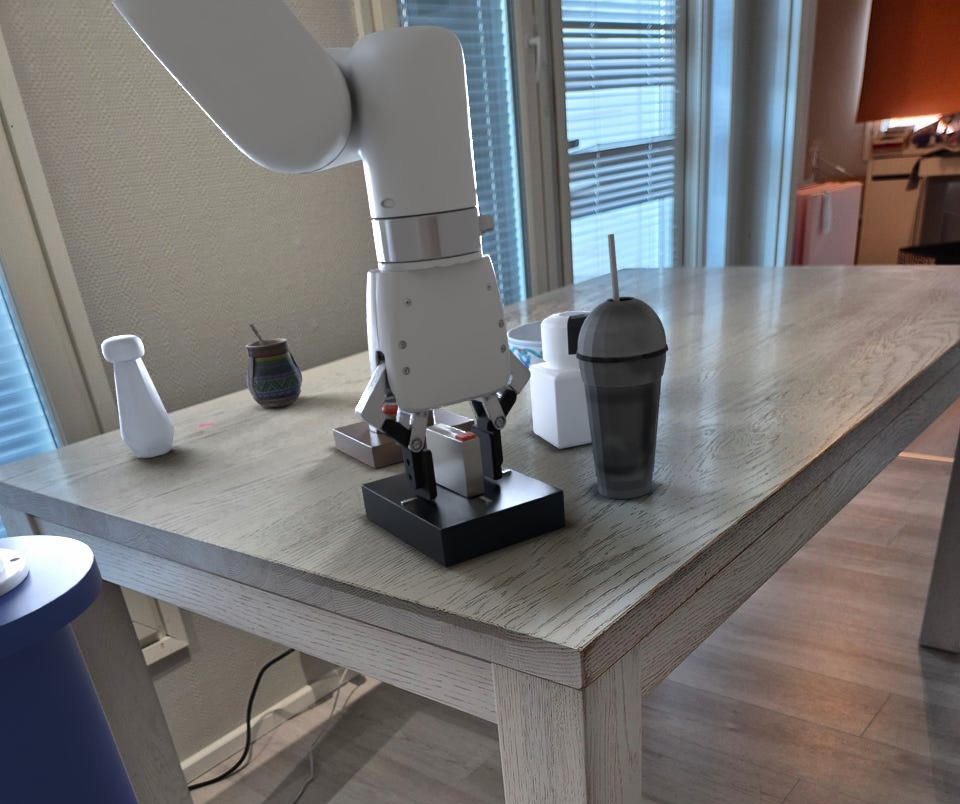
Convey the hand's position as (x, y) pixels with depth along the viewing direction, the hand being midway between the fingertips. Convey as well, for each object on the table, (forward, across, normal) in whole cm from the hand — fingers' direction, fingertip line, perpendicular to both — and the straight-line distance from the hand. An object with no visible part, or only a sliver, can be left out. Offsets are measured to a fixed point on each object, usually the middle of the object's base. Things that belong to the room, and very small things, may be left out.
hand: (457, 483), depth 70 cm
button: (0, -7, -24) cm, 25 cm away
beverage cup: (+3, -14, +4) cm, 15 cm away
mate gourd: (+3, -4, -56) cm, 56 cm away
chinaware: (+3, -31, -26) cm, 41 cm away
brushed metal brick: (0, 0, 0) cm, 0 cm away
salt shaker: (+3, +15, -46) cm, 49 cm away
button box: (+3, -7, -24) cm, 25 cm away
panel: (+3, 0, 0) cm, 3 cm away
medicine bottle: (+4, -21, -12) cm, 24 cm away
